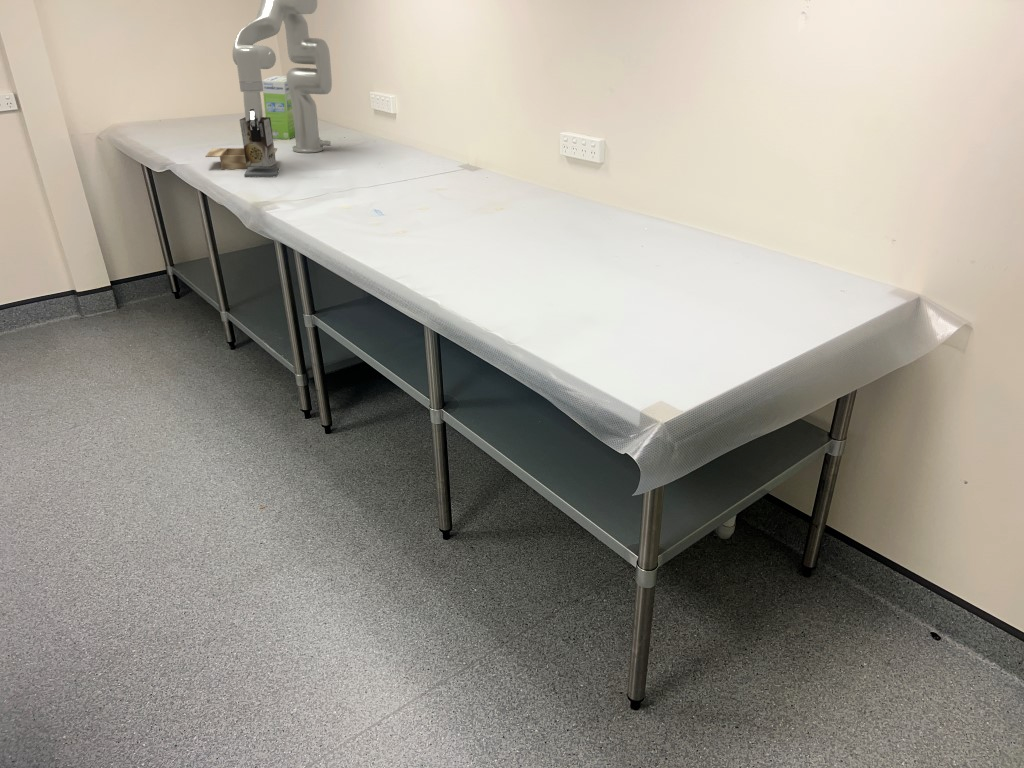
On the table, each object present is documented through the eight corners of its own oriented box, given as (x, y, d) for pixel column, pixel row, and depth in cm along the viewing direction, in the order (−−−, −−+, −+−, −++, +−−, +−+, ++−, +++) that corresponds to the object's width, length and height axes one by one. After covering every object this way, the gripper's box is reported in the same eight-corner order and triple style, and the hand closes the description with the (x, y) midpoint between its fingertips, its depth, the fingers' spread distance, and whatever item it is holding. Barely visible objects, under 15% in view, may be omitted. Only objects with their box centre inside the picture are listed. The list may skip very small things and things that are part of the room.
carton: (278, 161, 290) (277, 148, 287) (275, 169, 277) (273, 155, 275) (214, 161, 285) (211, 148, 283) (207, 170, 273) (205, 156, 271)
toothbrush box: (290, 139, 327) (284, 81, 316) (267, 139, 327) (260, 80, 316) (302, 132, 343) (296, 76, 331) (279, 131, 343) (273, 75, 331)
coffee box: (276, 163, 273) (271, 117, 265) (270, 167, 267) (264, 120, 259) (252, 162, 273) (246, 115, 266) (245, 165, 268) (238, 118, 260)
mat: (279, 169, 278) (279, 166, 277) (276, 176, 267) (276, 174, 267) (248, 169, 276) (248, 166, 275) (244, 177, 266) (244, 174, 265)
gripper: (243, 83, 264) (250, 135, 273) (236, 89, 249) (243, 144, 258) (265, 83, 266) (271, 135, 274) (259, 90, 251) (266, 144, 259)
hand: (258, 139), depth 266 cm, fingers closed on coffee box, 7 cm apart
